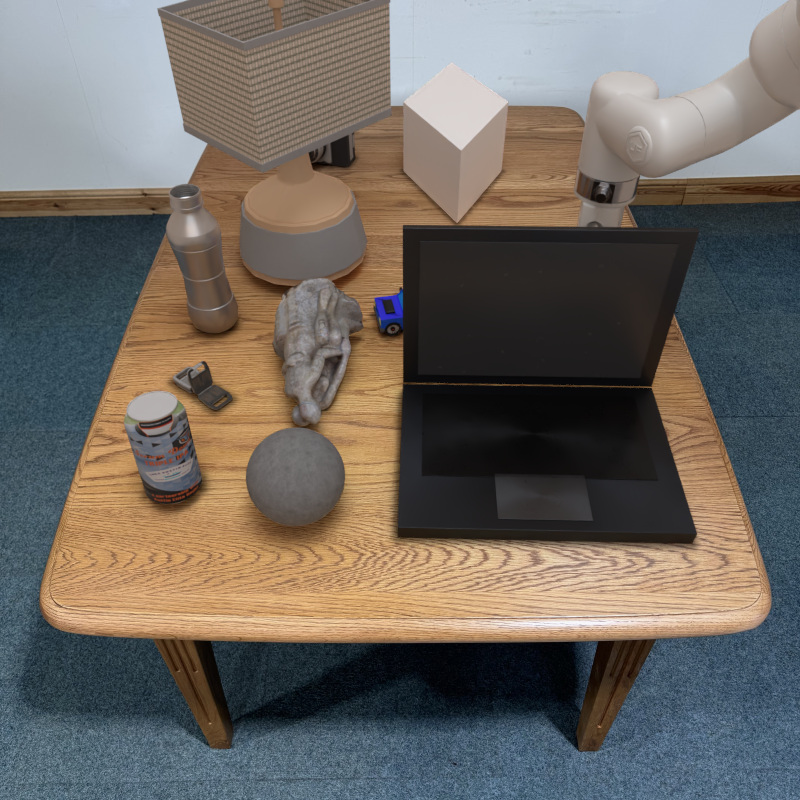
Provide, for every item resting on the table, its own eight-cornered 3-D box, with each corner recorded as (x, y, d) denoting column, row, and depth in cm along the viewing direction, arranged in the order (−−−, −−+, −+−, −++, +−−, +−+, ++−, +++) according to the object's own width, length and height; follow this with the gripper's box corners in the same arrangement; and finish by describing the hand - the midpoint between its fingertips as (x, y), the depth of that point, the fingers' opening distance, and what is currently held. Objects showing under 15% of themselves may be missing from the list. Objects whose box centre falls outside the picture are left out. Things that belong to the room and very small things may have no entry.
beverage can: (148, 518, 76) (116, 442, 68) (146, 466, 81) (116, 389, 73) (209, 505, 77) (184, 429, 69) (203, 455, 82) (180, 378, 74)
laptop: (692, 543, 74) (697, 533, 72) (397, 537, 74) (397, 526, 73) (648, 398, 88) (652, 386, 87) (403, 394, 89) (402, 382, 88)
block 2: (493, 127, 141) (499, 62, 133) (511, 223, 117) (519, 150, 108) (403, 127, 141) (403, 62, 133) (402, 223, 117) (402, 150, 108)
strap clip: (171, 382, 91) (163, 357, 88) (190, 369, 92) (183, 344, 89) (216, 413, 87) (209, 387, 84) (235, 399, 89) (229, 373, 86)
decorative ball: (366, 508, 77) (363, 446, 70) (290, 563, 72) (277, 502, 65) (310, 455, 82) (301, 392, 75) (235, 503, 77) (218, 441, 70)
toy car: (372, 311, 101) (371, 281, 97) (456, 300, 102) (458, 271, 99) (381, 341, 96) (380, 311, 93) (468, 329, 98) (471, 300, 94)
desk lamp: (290, 320, 99) (250, 36, 73) (209, 265, 109) (148, -4, 83) (400, 255, 110) (399, -12, 84) (317, 210, 120) (293, -42, 94)
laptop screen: (700, 231, 73) (698, 227, 73) (402, 228, 74) (402, 224, 74) (651, 387, 87) (650, 383, 88) (402, 383, 88) (403, 379, 88)
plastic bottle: (232, 341, 96) (202, 207, 82) (184, 337, 97) (146, 203, 83) (247, 312, 101) (221, 179, 87) (201, 307, 101) (167, 175, 87)
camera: (268, 167, 130) (260, 112, 123) (286, 146, 136) (279, 93, 129) (341, 177, 127) (337, 122, 120) (356, 156, 133) (353, 102, 126)
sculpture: (350, 457, 89) (254, 440, 85) (352, 343, 99) (267, 324, 95) (380, 408, 80) (275, 388, 77) (379, 290, 91) (287, 267, 87)
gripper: (629, 221, 82) (599, 344, 95) (645, 155, 93) (617, 274, 106) (562, 210, 84) (542, 333, 96) (586, 147, 95) (566, 264, 108)
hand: (581, 300), depth 101 cm, fingers closed on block, 4 cm apart
